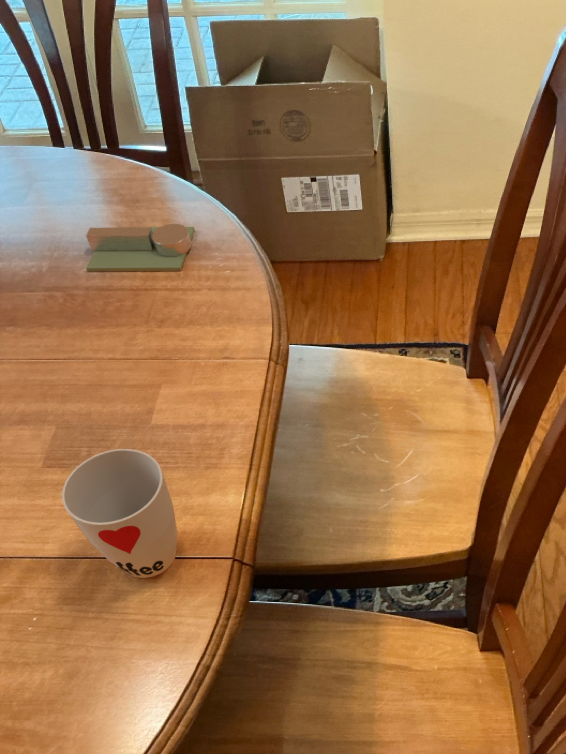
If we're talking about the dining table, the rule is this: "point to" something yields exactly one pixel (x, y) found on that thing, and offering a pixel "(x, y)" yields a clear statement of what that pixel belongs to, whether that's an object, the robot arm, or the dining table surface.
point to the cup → (124, 510)
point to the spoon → (141, 239)
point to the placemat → (136, 259)
